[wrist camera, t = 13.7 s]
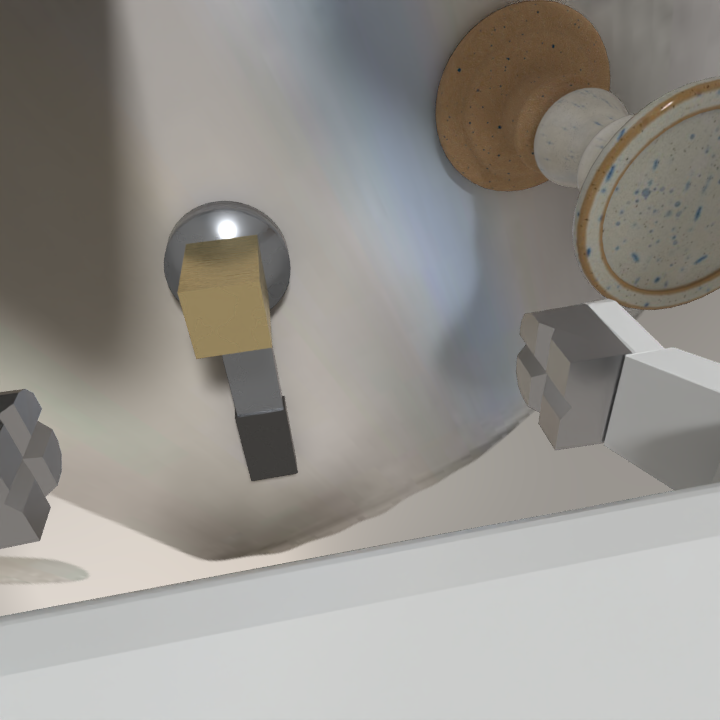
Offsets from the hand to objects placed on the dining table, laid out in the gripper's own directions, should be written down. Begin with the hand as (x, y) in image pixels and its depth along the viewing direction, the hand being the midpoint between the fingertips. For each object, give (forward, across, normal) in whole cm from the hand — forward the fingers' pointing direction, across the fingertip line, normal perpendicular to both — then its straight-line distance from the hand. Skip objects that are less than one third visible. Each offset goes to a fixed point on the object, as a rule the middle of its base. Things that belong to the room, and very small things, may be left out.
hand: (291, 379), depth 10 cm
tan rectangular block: (+32, +4, +14) cm, 35 cm away
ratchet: (+34, +4, +23) cm, 41 cm away
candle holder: (+34, -18, +5) cm, 39 cm away
